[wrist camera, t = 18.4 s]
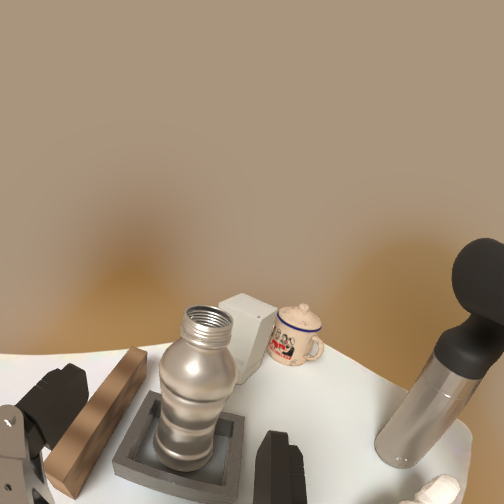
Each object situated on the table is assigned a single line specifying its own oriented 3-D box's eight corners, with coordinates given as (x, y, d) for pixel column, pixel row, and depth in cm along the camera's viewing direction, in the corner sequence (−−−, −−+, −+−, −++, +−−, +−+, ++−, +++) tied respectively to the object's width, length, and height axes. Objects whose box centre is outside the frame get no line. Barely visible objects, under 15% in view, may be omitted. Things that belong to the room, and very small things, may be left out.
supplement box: (260, 368, 47) (280, 308, 44) (239, 386, 40) (260, 321, 37) (226, 350, 50) (242, 291, 47) (203, 365, 43) (218, 301, 40)
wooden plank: (130, 371, 36) (131, 346, 35) (145, 376, 36) (147, 351, 35) (54, 487, 12) (40, 467, 11) (74, 500, 12) (62, 482, 11)
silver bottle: (157, 430, 27) (173, 289, 22) (211, 442, 27) (251, 307, 23) (147, 469, 20) (153, 325, 16) (208, 482, 21) (256, 348, 17)
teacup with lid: (256, 346, 54) (272, 296, 51) (286, 339, 60) (302, 293, 57) (297, 381, 45) (320, 327, 42) (325, 368, 51) (347, 319, 48)
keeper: (148, 407, 30) (149, 390, 29) (238, 432, 30) (244, 416, 29) (115, 474, 18) (111, 460, 17) (229, 508, 18) (237, 497, 17)
